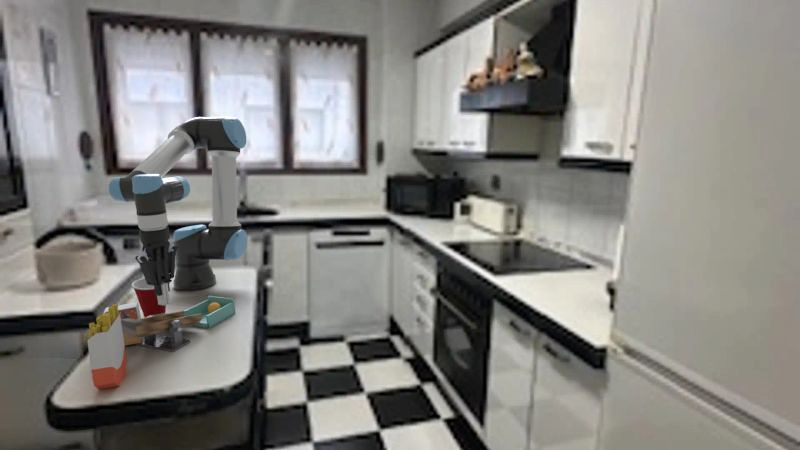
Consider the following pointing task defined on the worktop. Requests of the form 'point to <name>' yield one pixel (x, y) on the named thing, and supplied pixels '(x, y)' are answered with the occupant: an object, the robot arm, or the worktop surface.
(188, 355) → the worktop surface
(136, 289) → the plastic cup
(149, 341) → the stand
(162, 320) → the lever
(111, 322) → the french fries container
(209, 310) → the ball
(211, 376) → the worktop surface
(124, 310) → the small box
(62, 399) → the worktop surface
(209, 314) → the tray
